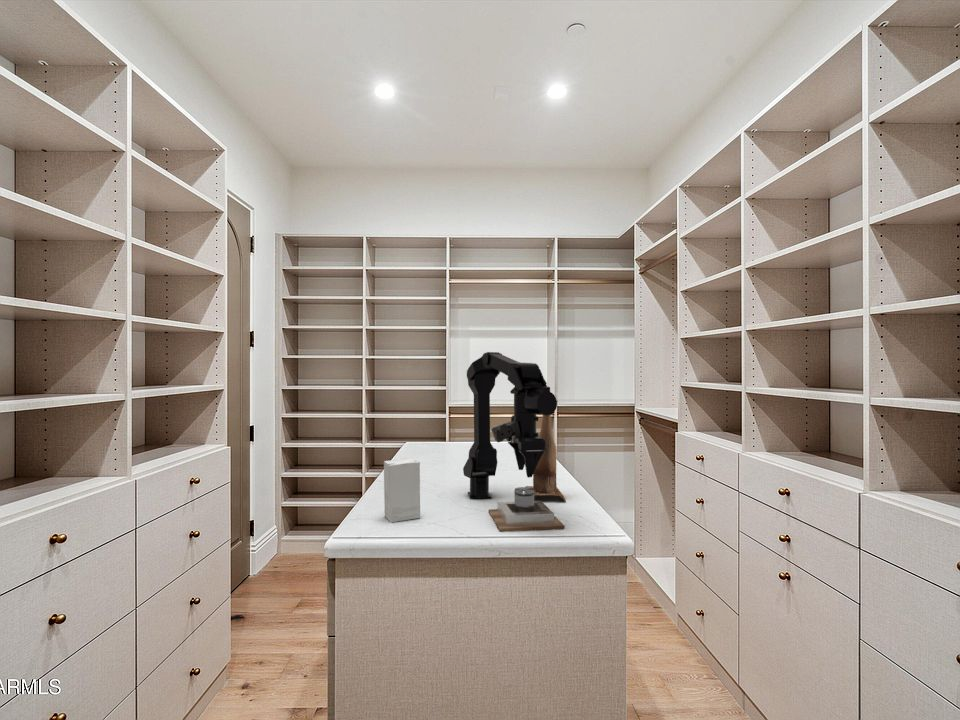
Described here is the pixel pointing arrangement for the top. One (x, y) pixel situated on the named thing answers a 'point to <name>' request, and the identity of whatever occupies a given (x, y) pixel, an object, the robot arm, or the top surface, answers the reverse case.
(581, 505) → the top surface
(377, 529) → the top surface
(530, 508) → the cylinder
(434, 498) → the top surface
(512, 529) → the walnut board
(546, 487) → the bird sculpture
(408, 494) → the skincare box
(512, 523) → the grey square tray
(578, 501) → the top surface
